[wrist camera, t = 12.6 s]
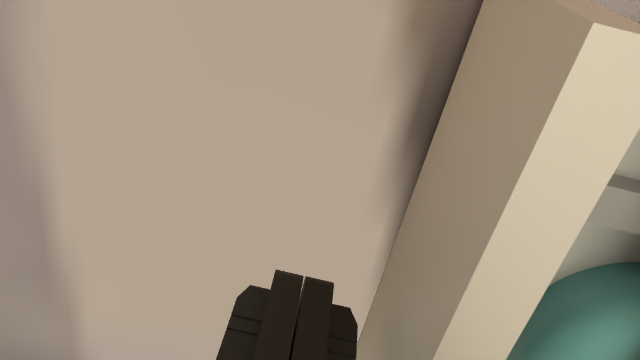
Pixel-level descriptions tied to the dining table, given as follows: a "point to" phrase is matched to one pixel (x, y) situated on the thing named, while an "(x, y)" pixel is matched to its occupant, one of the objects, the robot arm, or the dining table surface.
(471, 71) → the tray
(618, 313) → the disc
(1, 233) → the dining table surface
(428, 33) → the dining table surface
